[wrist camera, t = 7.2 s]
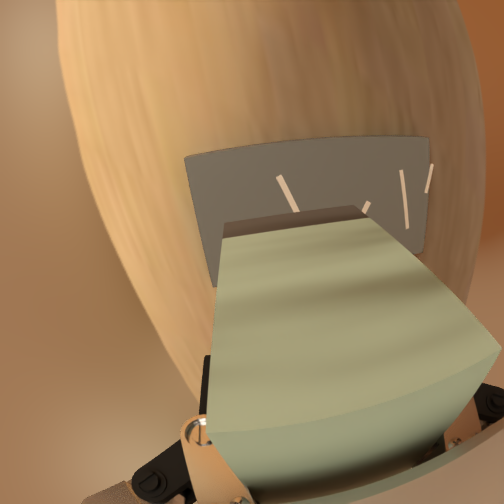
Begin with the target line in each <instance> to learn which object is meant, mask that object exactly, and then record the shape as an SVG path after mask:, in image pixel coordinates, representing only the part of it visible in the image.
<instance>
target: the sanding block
mask: <svg viewBox="0 0 504 504" xmlns="http://www.w3.org/2000/svg"><path fill="white" fill-rule="evenodd" d="M501 349H502V347H501V346H500V345H499V344H498V342H497V341H496V340H495V339H494V338H493V336H492V335H491V334H490V333H489V332H488V331H487V329H486V328H485V327H484V326H483V325H482V324H481V323H480V321H479V320H478V319H477V318H476V317H475V316H474V315H473V314H472V313H471V311H470V310H469V309H468V308H467V307H466V306H465V305H464V304H463V303H462V302H461V301H460V300H459V299H458V298H457V297H456V296H455V295H454V293H453V292H452V291H451V290H450V289H449V288H448V287H447V286H446V285H445V284H444V283H443V282H442V281H441V280H439V279H438V278H437V277H436V276H435V275H434V274H433V273H432V272H431V271H430V270H429V269H428V268H427V267H426V266H425V265H424V264H423V263H422V262H421V261H419V260H418V259H417V258H416V257H415V256H414V255H413V254H412V253H411V252H410V251H408V250H407V249H406V248H405V247H404V246H403V245H402V244H400V243H399V242H398V241H397V240H396V239H395V238H394V237H392V236H391V235H390V234H389V233H388V232H386V231H385V230H384V229H383V228H382V227H380V226H379V225H378V224H377V223H376V222H374V221H373V220H372V219H371V218H369V217H368V216H367V215H366V214H364V213H363V212H362V211H361V210H359V209H358V208H357V207H356V206H354V205H348V206H340V207H332V208H324V209H316V210H308V211H301V212H294V213H286V214H279V215H272V216H265V217H259V218H252V219H246V220H239V221H233V222H226V223H224V230H223V238H222V247H221V255H220V264H219V274H218V283H217V293H216V303H215V313H214V324H213V335H212V347H211V359H210V371H209V385H208V399H207V415H206V432H205V433H206V434H207V436H208V437H209V439H210V440H211V442H212V443H213V445H214V446H215V448H216V449H217V451H218V452H219V453H220V455H221V456H222V458H223V459H224V460H225V462H226V463H227V465H228V466H229V467H230V469H231V470H232V471H233V473H234V474H235V475H236V476H237V478H238V479H239V480H240V482H241V483H242V484H243V485H244V486H247V487H248V488H249V490H250V492H251V494H252V496H253V498H254V499H255V500H256V501H259V502H260V504H282V503H289V502H296V501H302V500H308V499H313V498H318V497H323V496H328V495H332V494H336V493H340V492H344V491H348V490H352V489H355V488H359V487H362V486H365V485H368V484H372V483H375V482H378V481H380V480H383V479H386V478H389V477H391V476H394V475H397V474H399V473H402V472H404V471H407V470H409V469H411V468H412V466H413V465H414V464H415V463H416V462H417V461H419V460H420V459H421V458H422V457H423V456H424V455H425V454H426V453H427V452H428V451H429V449H430V448H431V447H432V446H433V445H434V444H435V443H436V442H437V440H438V439H439V437H440V436H441V435H442V434H443V433H444V432H446V430H447V429H448V428H449V427H450V426H451V424H452V423H453V422H454V421H455V419H456V418H457V417H458V416H459V414H460V413H461V412H462V410H463V409H464V408H465V406H466V405H467V404H468V402H469V401H470V399H471V398H472V397H473V395H474V394H475V392H476V391H477V389H478V388H479V386H480V385H481V383H482V382H483V380H484V378H485V377H486V375H487V374H488V372H489V370H490V369H491V367H492V365H493V364H494V362H495V360H496V358H497V357H498V355H499V353H500V351H501Z"/></svg>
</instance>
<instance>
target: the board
mask: <svg viewBox="0 0 504 504" xmlns="http://www.w3.org/2000/svg"><path fill="white" fill-rule="evenodd" d="M184 161H185V166H186V171H187V176H188V181H189V186H190V191H191V195H192V200H193V205H194V209H195V214H196V218H197V223H198V227H199V232H200V236H201V240H202V245H203V249H204V253H205V257H206V261H207V265H208V270H209V274H210V278H211V282H212V286H213V287H217V283H218V274H219V264H220V255H221V247H222V238H223V230H224V223H226V222H233V221H239V220H246V219H252V218H259V217H265V216H272V215H279V214H286V213H294V212H301V211H308V210H316V209H324V208H332V207H340V206H348V205H354V206H356V207H357V208H358V209H359V210H361V211H362V212H363V213H364V214H366V215H367V216H368V217H369V218H371V219H372V220H373V221H374V222H376V223H377V224H378V225H379V226H380V227H382V228H383V229H384V230H385V231H386V232H388V233H389V234H390V235H391V236H392V237H394V238H395V239H396V240H397V241H398V242H399V243H400V244H402V245H403V246H404V247H405V248H406V249H407V250H408V251H410V252H411V253H412V254H417V253H422V252H423V247H424V239H425V231H426V221H427V210H428V195H429V184H430V180H431V176H432V171H433V166H434V164H430V169H429V138H427V137H422V136H392V135H378V136H342V137H325V138H311V139H299V140H289V141H280V142H271V143H263V144H256V145H248V146H242V147H235V148H229V149H223V150H217V151H211V152H206V153H201V154H196V155H191V156H187V157H185V158H184Z"/></svg>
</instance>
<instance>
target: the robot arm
mask: <svg viewBox="0 0 504 504" xmlns="http://www.w3.org/2000/svg"><path fill="white" fill-rule="evenodd" d="M210 359H211V355H206V356H205V357H204V365H203V375H202V385H201V396H200V409H199V415H196V416H194V417H191V418H190V419H188V420H187V421H186V422H185V423H184V425H183V426H182V428H181V431H180V440H178V441H177V442H176V443H175V444H173V445H172V446H171V447H169V448H168V449H166V450H165V451H164V452H162V453H161V454H160V455H158V456H157V457H155V458H154V459H152V460H151V461H150V462H148V463H147V464H145V465H144V466H142V467H141V468H140V469H138V470H137V471H136V472H135V473H134V475H133V477H132V479H131V480H129V481H128V482H125V481H122V482H120V483H118V484H116V485H114V486H112V487H110V488H107V489H105V490H103V491H100V492H98V493H96V494H94V495H91V496H89V497H87V498H86V499H84V500H83V502H82V503H81V504H193V503H194V502H196V501H197V502H198V504H260V502H259V501H256V500H255V499H254V498H253V496H252V494H251V492H250V490H249V488H248V487H247V486H244V485H243V484H242V483H241V482H240V480H239V479H238V478H237V476H236V475H235V474H234V473H233V471H232V470H231V469H230V467H229V466H228V465H227V463H226V462H225V460H224V459H223V458H222V456H221V455H220V453H219V452H218V451H217V449H216V448H215V446H214V445H213V443H212V442H211V440H210V439H209V437H208V436H207V434H206V433H205V432H206V415H207V399H208V385H209V371H210ZM282 504H504V389H502V388H499V387H496V386H492V385H488V384H485V383H481V385H480V386H479V388H478V389H477V391H476V392H475V394H474V395H473V397H472V398H471V399H470V401H469V402H468V404H467V405H466V406H465V408H464V409H463V410H462V412H461V413H460V414H459V416H458V417H457V418H456V419H455V421H454V422H453V423H452V424H451V426H450V427H449V428H448V429H447V430H446V432H444V433H443V434H442V435H441V436H440V437H439V439H438V440H437V442H436V443H435V444H434V445H433V446H432V447H431V448H430V449H429V451H428V452H427V453H426V454H425V455H424V456H423V457H422V458H421V459H420V460H419V461H417V462H416V463H415V464H414V465H413V466H412V468H411V469H409V470H407V471H404V472H402V473H399V474H397V475H394V476H391V477H389V478H386V479H383V480H380V481H378V482H375V483H372V484H368V485H365V486H362V487H359V488H355V489H352V490H348V491H344V492H340V493H336V494H332V495H328V496H323V497H318V498H313V499H308V500H302V501H296V502H289V503H282Z"/></svg>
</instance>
